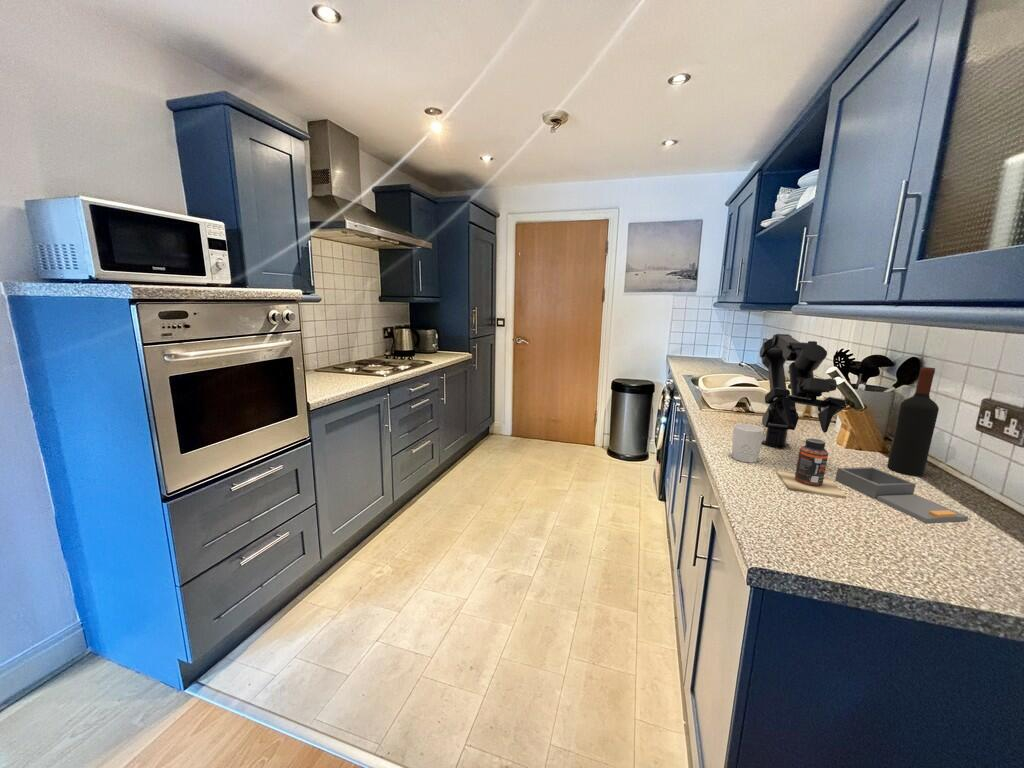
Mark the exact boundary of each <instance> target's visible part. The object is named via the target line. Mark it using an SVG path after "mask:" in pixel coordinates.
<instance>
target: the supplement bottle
mask: <svg viewBox="0 0 1024 768" xmlns="http://www.w3.org/2000/svg"><path fill="white" fill-rule="evenodd" d="M825 447H826V441H824V440H823V439H822V440H821V439H819V438H818V439H817V438H813V437H811V438H810V437H809V438H806V440H805V444H804V445H802V446H801V447H800V448H799V452H798V458H797V463H796V467H795V468H796V469H795V472H794V473H795V478H796V480H798V481H799V482H801V483H804V484H807V485H812V486H819V485H822V483H823V479H824V477H825V473H826V467H827V463H828V458H829V457H828V456H829V453H828V450H826V448H825Z"/></svg>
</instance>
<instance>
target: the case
mask: <svg viewBox="0 0 1024 768" xmlns="http://www.w3.org/2000/svg"><path fill="white" fill-rule="evenodd" d="M835 481H836V482H838V483H840V484H842V485H844V486H846V487H849V488H851V489H853V490H855V491H857V492H859V493H862V495H863V494H864V495H865V496H867V497H870V498H872V499H874V500H876V501H879V502H880V503H883V504H885V505H886V506H889V507H892V508H893V509H896V510H897V511H899V512H902V513H903V514H905V515H908V516H909V517H913V518H914V519H915V520H918V521H920V522H922V523H925V524H931V523H951V522H953V521H954V522H967V521H969V516H967V515H965V514H963V513H961V512H958V511H956V510H954V509H951V508H948V507H946V506H943V505H942V504H939V503H938V502H934V501H932V500H929V499H927V498H925V497H923V496H920V495H919V494H915V489H916V485H917V484H916V483H914V482H911V481H909V480H907V479H904V478H901V477H899V476H896V475H894V474H891V473H889V472H886V471H883V470H881V469H878V468H877V467H873V466H867V467H866V466H865V467H864V466H863V467H837V470H836V476H835Z"/></svg>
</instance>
